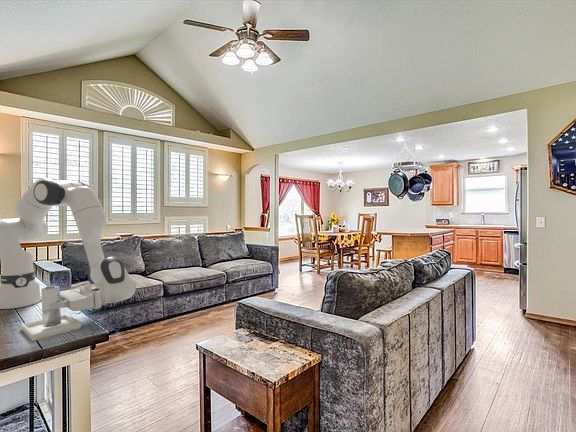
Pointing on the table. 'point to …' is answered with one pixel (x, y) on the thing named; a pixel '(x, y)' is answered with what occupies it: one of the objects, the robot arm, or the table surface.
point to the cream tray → (50, 328)
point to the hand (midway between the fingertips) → (48, 304)
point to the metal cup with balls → (49, 315)
